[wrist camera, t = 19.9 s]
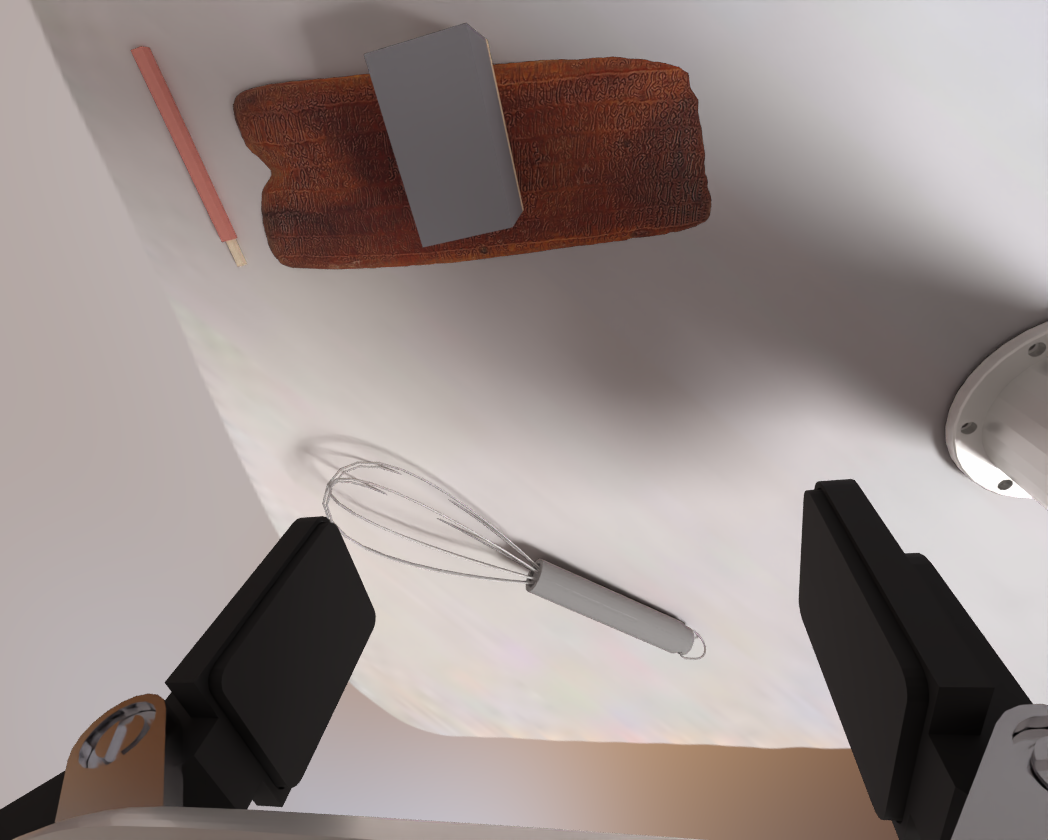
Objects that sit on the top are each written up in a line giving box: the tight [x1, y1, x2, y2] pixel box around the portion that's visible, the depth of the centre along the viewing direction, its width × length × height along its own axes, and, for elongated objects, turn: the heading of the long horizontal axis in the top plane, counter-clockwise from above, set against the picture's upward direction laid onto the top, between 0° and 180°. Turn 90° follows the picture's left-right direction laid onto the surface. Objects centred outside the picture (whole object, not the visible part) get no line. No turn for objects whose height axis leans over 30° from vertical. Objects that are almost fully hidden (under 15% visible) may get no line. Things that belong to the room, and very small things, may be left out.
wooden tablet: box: [233, 57, 711, 269], centre depth 30 cm, size 27×10×2 cm, turn 94°
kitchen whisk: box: [322, 462, 706, 660], centre depth 41 cm, size 6×34×6 cm, turn 61°
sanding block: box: [364, 23, 524, 247], centre depth 26 cm, size 4×8×6 cm, turn 13°
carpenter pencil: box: [131, 46, 247, 267], centre depth 31 cm, size 1×12×1 cm, turn 13°
